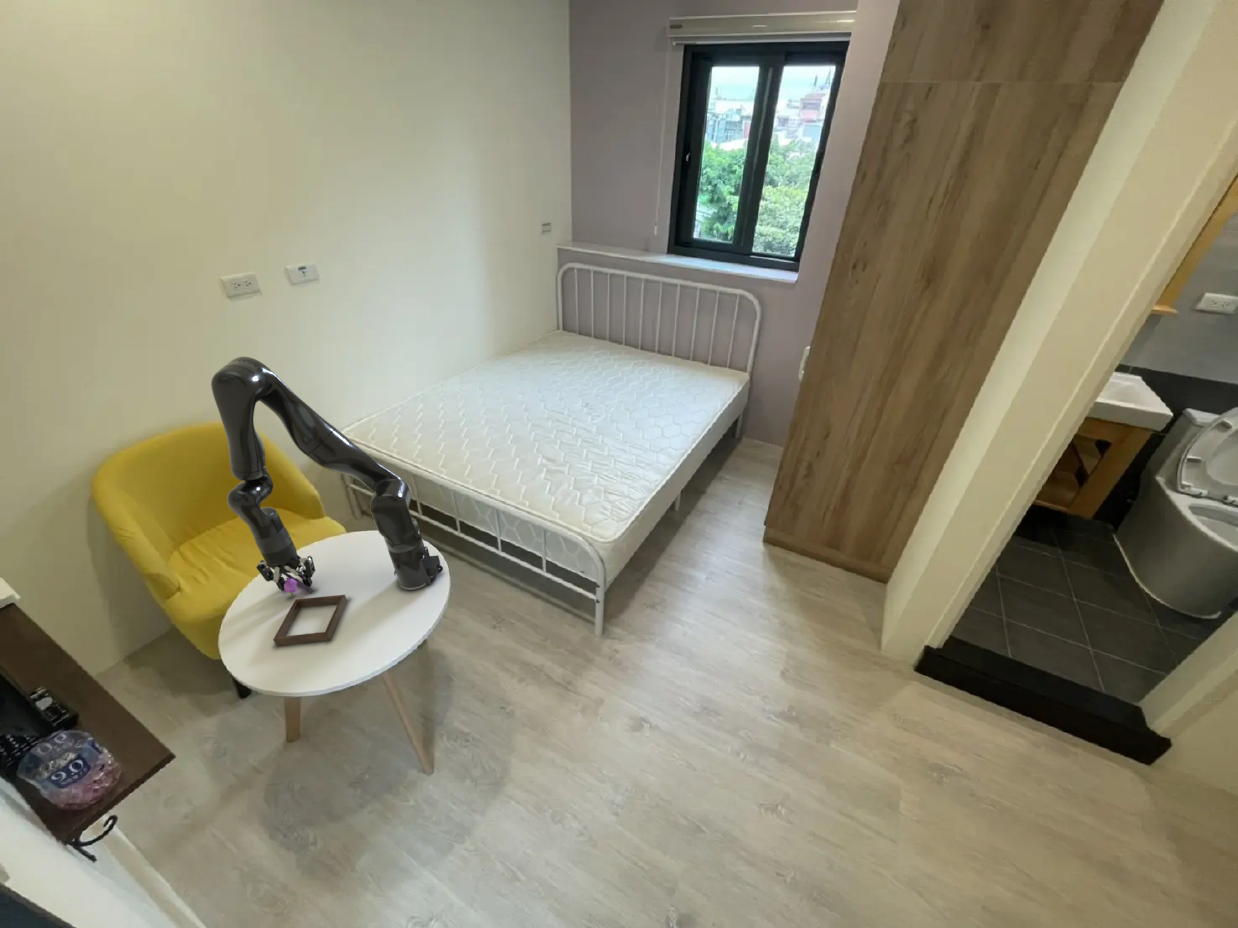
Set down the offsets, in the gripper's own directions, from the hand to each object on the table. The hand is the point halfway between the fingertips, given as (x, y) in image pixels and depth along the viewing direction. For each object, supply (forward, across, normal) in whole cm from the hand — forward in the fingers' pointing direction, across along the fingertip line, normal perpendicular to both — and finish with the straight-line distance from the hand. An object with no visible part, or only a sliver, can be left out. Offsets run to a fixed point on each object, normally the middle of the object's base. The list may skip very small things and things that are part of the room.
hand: (297, 587), depth 146 cm
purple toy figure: (+1, 0, 0) cm, 1 cm away
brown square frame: (+1, +9, -13) cm, 16 cm away
